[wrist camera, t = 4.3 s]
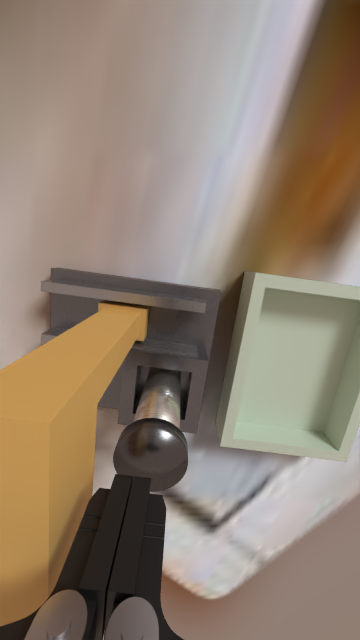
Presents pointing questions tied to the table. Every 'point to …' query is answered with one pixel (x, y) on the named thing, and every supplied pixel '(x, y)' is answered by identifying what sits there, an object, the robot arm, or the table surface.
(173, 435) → the pin
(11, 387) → the bracket
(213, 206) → the table surface
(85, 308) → the hitch
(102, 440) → the table surface
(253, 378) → the tray
